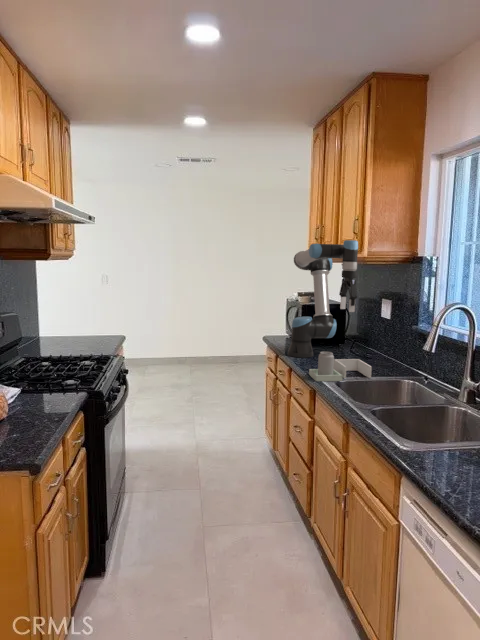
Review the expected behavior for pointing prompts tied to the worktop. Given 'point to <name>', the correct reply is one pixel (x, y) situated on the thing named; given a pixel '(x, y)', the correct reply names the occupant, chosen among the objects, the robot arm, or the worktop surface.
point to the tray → (325, 376)
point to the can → (325, 363)
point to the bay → (352, 367)
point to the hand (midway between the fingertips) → (347, 310)
